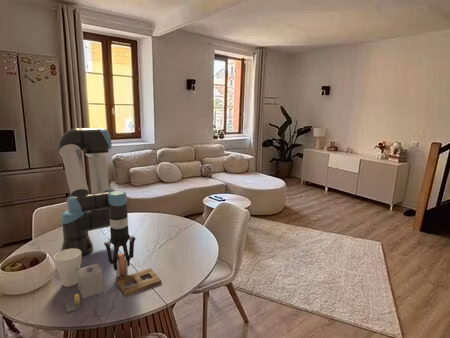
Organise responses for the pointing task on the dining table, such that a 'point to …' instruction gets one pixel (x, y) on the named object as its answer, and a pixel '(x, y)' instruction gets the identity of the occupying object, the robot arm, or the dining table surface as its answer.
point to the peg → (121, 265)
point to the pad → (74, 304)
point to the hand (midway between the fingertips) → (122, 274)
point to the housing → (90, 280)
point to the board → (138, 281)
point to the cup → (68, 265)
